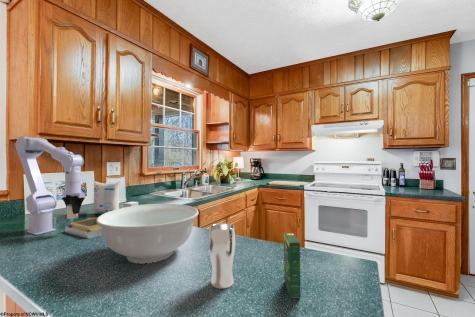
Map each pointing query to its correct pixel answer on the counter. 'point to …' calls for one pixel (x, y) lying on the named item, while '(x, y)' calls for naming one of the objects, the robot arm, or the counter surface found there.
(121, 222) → the bowl
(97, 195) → the pouch
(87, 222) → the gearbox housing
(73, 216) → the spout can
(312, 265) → the counter surface
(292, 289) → the coffee box
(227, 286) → the silver metal tumbler
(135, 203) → the skincare box
